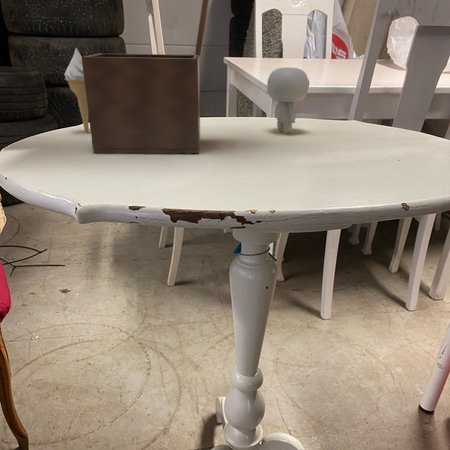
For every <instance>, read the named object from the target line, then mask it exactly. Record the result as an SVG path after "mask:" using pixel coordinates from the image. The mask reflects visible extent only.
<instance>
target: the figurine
mask: <svg viewBox="0 0 450 450" xmlns="http://www.w3.org/2000/svg"><path fill="white" fill-rule="evenodd" d="M309 88H310V79H309V77H308V75H307V73H306V72H305V71H304V70H303V69H301V68H298V67H278V68H276V69H274V70H272V71H271V73H270V74H269V75H268V79H267V83H266V89H267V94H268V96H269V97H270V98H271V100H273V101H276V102H277V104H276V106H275V109H274V118H275V119H276V121H277V123H276V127H277V130H278V131H279V132H281V133H282V132H283V133H285V134H290V133H291V131H292V128H293V124H296V119H297V113H296V106H295V104H294V103H295V102H300V101H302V100H303V99H305V97H306V96H307V94H308V91H309Z"/></svg>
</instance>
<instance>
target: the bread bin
mask: <svg viewBox="0 0 450 450" xmlns="http://www.w3.org/2000/svg"><path fill="white" fill-rule="evenodd" d="M82 65H83V73H84V81H85V89H86V97H87V105H88V122H89V129H90V138H91V144H92V146H91V147H92V152H93V154H117V155H119V153H120V154H122V155H123V154H127V155H128V154H131V155H132V154H133V155H134V154H135V155H136V154H137V155H139V154H140V155H179V154H178V153H196V154H195V155H199V154H200V147H201V87H200V85H201V84H200V83H201V80H200V79H201V78H200V76H201V75H200V56H199V55H195V54H169V53H168V54H164V53H163V54H160V53H94V54H90V55H85V56H82Z"/></svg>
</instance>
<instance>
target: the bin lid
mask: <svg viewBox="0 0 450 450" xmlns="http://www.w3.org/2000/svg"><path fill="white" fill-rule="evenodd" d="M209 3H210V0H202V2H201V7H200V8H201V9H200V15H199V16H200V17H199V23H198V30H197V38H196V45H195V52H194V55H199V57H200V56H201V55H202V52H203V45H204V37H205V33H206V26H207V25H206V24H207V18H208V12H209V6H210V5H209Z"/></svg>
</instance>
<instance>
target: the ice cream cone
mask: <svg viewBox="0 0 450 450" xmlns="http://www.w3.org/2000/svg"><path fill="white" fill-rule="evenodd" d="M82 57H83V56H82V55H81V53H80V52H79V49H78V48H77V47H75V49H74V52H73V56H72V58H71V60H70V62H69V64H68V66H67V68H66V70H65V72H64V74H63V75H64V76H65V77H64V78H65V81H67V84H68V86H69V89H70V91H72V92H73V93H74V95H75V96H76V98H77V103H78V107H79V112H80V116H81V120H82V121H81V122H82V124H83V129H84V132H85V133H89V129H90V126H89V113H88V105H87V97H86V89H85V81H84V73H83V65H82Z"/></svg>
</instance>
